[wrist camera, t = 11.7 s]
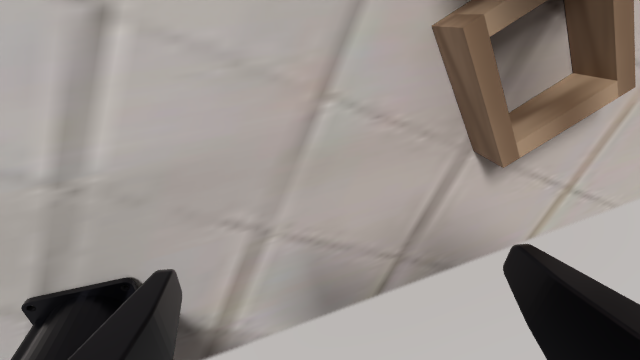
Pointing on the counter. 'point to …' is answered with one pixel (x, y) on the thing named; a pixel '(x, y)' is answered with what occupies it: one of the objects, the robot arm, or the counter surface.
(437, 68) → the counter surface
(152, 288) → the robot arm
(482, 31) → the walnut socket
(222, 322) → the counter surface
